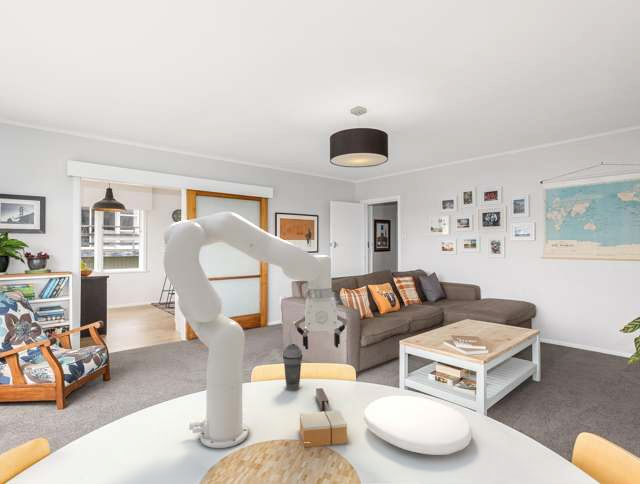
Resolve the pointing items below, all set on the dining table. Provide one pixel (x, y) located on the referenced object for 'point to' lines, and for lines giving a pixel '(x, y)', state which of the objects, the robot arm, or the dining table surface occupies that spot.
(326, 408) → the knife
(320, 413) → the cake
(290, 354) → the beverage cup
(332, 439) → the cake slice
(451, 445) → the white round disc
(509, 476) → the dining table surface
